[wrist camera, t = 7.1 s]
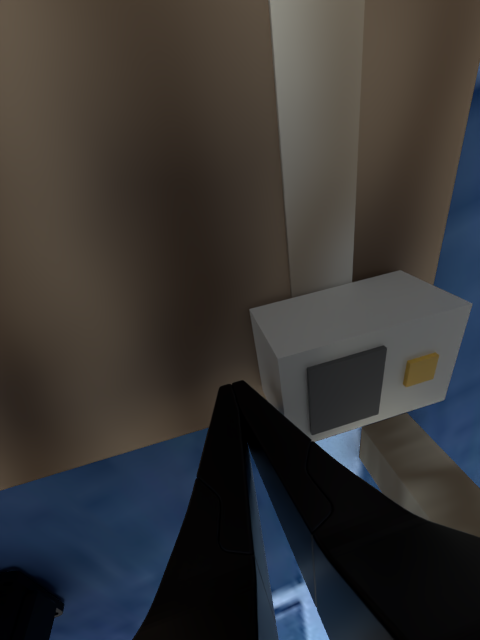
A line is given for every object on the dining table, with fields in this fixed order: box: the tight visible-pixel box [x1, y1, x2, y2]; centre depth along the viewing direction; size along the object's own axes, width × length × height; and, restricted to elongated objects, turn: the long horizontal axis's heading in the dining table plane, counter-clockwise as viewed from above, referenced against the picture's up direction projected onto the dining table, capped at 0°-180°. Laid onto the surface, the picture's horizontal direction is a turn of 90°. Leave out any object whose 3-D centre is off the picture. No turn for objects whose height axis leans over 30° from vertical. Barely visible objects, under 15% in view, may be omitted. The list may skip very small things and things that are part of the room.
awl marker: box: [359, 413, 480, 537], centre depth 15 cm, size 3×3×9 cm
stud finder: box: [249, 270, 472, 442], centre depth 10 cm, size 6×4×3 cm, turn 99°
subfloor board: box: [0, 0, 480, 490], centre depth 9 cm, size 20×17×2 cm
